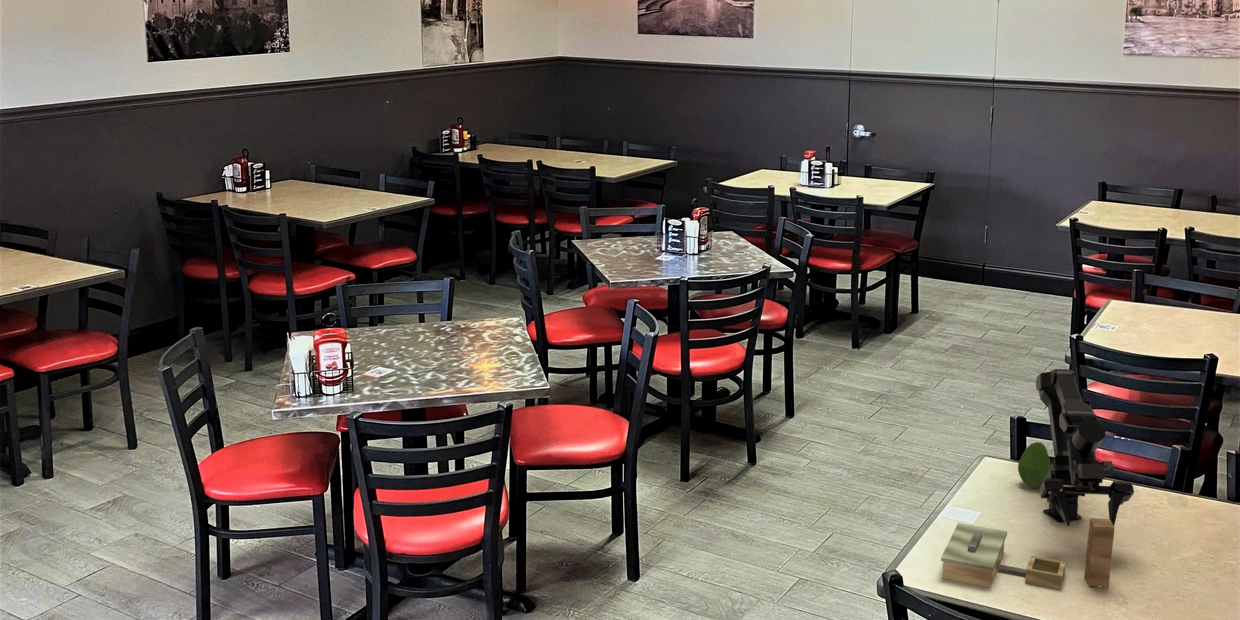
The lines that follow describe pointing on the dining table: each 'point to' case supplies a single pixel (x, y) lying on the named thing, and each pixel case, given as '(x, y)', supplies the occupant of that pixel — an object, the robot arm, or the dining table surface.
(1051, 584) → the wooden box with frame
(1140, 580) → the dining table surface
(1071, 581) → the dining table surface
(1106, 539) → the brown wooden block
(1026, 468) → the avocado
